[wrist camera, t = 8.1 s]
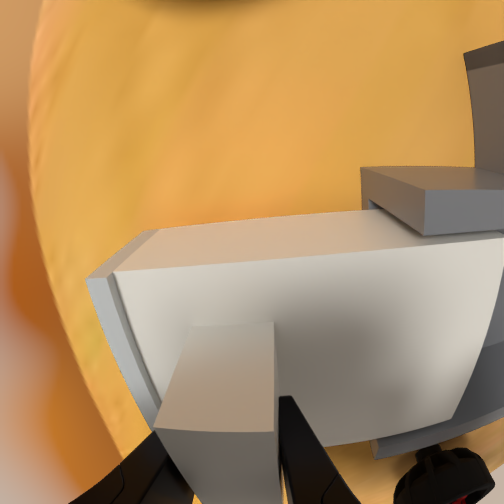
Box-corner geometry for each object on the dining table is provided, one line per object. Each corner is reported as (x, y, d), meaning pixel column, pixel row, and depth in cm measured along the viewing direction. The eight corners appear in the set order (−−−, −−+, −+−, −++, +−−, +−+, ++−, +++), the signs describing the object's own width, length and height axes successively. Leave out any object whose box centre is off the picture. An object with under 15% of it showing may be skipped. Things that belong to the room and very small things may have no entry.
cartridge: (421, 362, 14) (477, 479, 7) (186, 384, 15) (146, 514, 8) (446, 205, 11) (586, 287, 4) (143, 230, 12) (14, 344, 5)
